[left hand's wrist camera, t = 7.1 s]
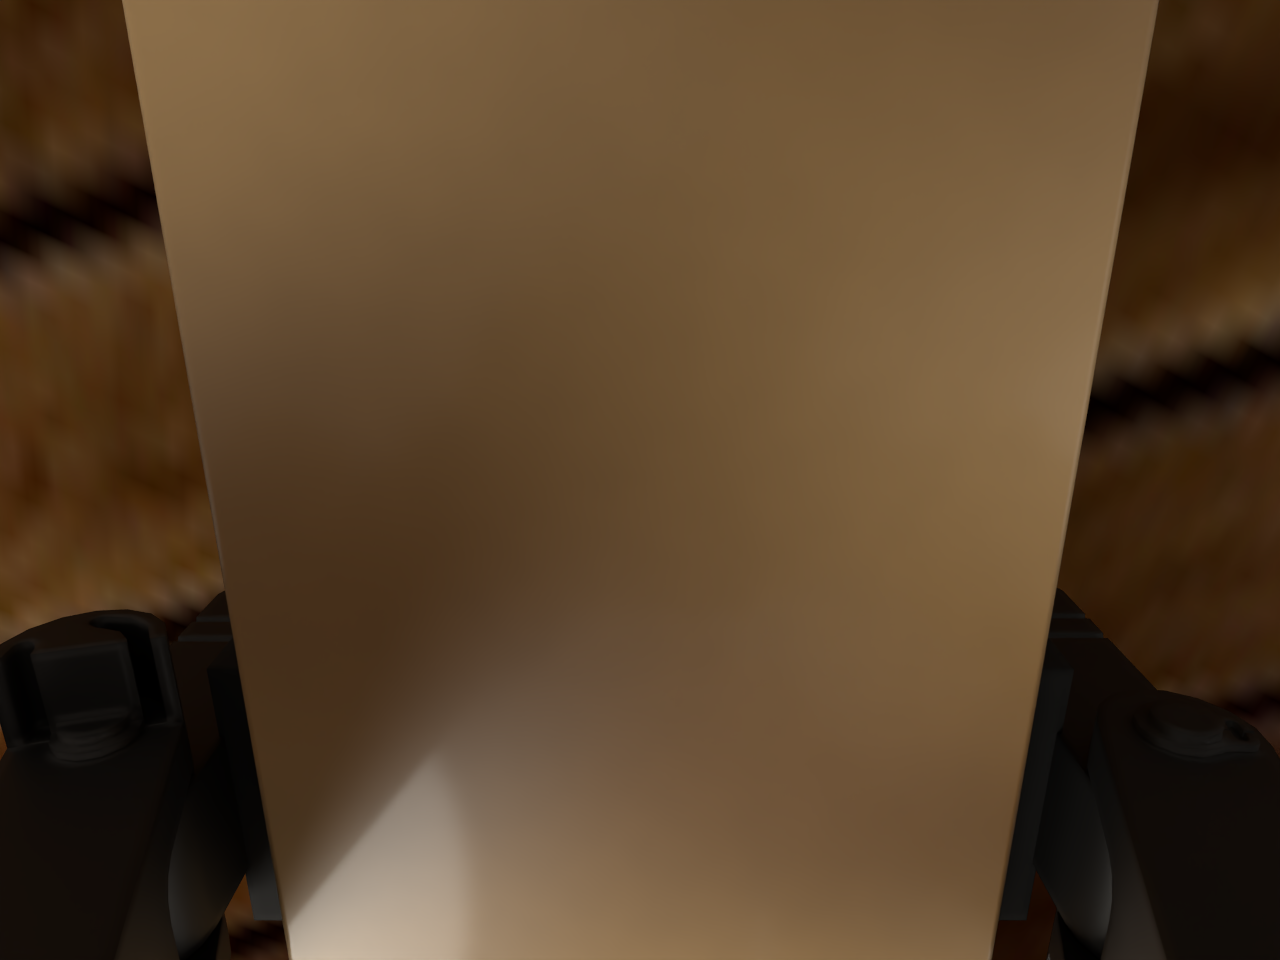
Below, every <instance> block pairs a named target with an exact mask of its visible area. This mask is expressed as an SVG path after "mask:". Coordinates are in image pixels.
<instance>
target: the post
mask: <svg viewBox="0 0 1280 960" xmlns="http://www.w3.org/2000/svg"><path fill="white" fill-rule="evenodd" d="M122 2H123V8H124V14H125V19H126V25H127V31H128V36H129V42H130V48H131V54H132V59H133V65H134V71H135V77H136V82H137V88H138V94H139V100H140V105H141V111H142V117H143V123H144V128H145V134H146V140H147V146H148V151H149V157H150V163H151V168H152V174H153V180H154V186H155V191H156V197H157V203H158V209H159V214H160V220H161V226H162V232H163V237H164V243H165V249H166V255H167V260H168V266H169V272H170V278H171V283H172V289H173V295H174V300H175V306H176V312H177V318H178V323H179V329H180V335H181V341H182V346H183V352H184V358H185V364H186V369H187V375H188V381H189V387H190V392H191V398H192V404H193V410H194V415H195V421H196V427H197V432H198V438H199V444H200V450H201V455H202V461H203V467H204V473H205V478H206V484H207V490H208V496H209V501H210V507H211V513H212V519H213V524H214V530H215V536H216V542H217V547H218V553H219V559H220V565H221V570H222V576H223V582H224V587H225V593H226V599H227V605H228V610H229V616H230V622H231V628H232V633H233V639H234V645H235V651H236V656H237V662H238V668H239V674H240V679H241V685H242V691H243V696H244V702H245V708H246V714H247V719H248V725H249V731H250V737H251V742H252V748H253V754H254V760H255V765H256V771H257V777H258V783H259V788H260V794H261V800H262V806H263V811H264V817H265V823H266V829H267V834H268V840H269V846H270V851H271V857H272V863H273V869H274V874H275V880H276V886H277V892H278V897H279V903H280V909H281V915H282V920H283V926H284V932H285V938H286V943H287V949H288V955H289V960H992V954H993V948H994V943H995V937H996V931H997V926H998V920H999V914H1000V908H1001V903H1002V897H1003V891H1004V885H1005V880H1006V874H1007V868H1008V863H1009V857H1010V851H1011V845H1012V840H1013V834H1014V828H1015V822H1016V817H1017V811H1018V805H1019V800H1020V794H1021V788H1022V782H1023V777H1024V771H1025V765H1026V759H1027V754H1028V748H1029V742H1030V737H1031V731H1032V725H1033V719H1034V714H1035V708H1036V702H1037V696H1038V691H1039V685H1040V679H1041V674H1042V668H1043V662H1044V656H1045V651H1046V645H1047V639H1048V633H1049V628H1050V622H1051V616H1052V611H1053V605H1054V599H1055V593H1056V588H1057V582H1058V576H1059V570H1060V565H1061V559H1062V553H1063V548H1064V542H1065V536H1066V530H1067V525H1068V519H1069V513H1070V507H1071V502H1072V496H1073V490H1074V485H1075V479H1076V473H1077V467H1078V462H1079V456H1080V450H1081V444H1082V439H1083V433H1084V427H1085V422H1086V416H1087V410H1088V404H1089V399H1090V393H1091V387H1092V381H1093V376H1094V370H1095V364H1096V359H1097V353H1098V347H1099V341H1100V336H1101V330H1102V324H1103V318H1104V313H1105V307H1106V301H1107V296H1108V290H1109V284H1110V278H1111V273H1112V267H1113V261H1114V255H1115V250H1116V244H1117V238H1118V232H1119V227H1120V221H1121V215H1122V210H1123V204H1124V198H1125V192H1126V187H1127V181H1128V175H1129V169H1130V164H1131V158H1132V152H1133V147H1134V141H1135V135H1136V129H1137V124H1138V118H1139V112H1140V106H1141V101H1142V95H1143V89H1144V84H1145V78H1146V72H1147V66H1148V61H1149V55H1150V49H1151V43H1152V38H1153V32H1154V26H1155V21H1156V15H1157V9H1158V3H1159V0H122Z"/></svg>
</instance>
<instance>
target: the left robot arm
mask: <svg viewBox="0 0 1280 960" xmlns="http://www.w3.org/2000/svg"><path fill="white" fill-rule="evenodd" d="M196 618H197V620H196V622H192V623H191V624H190V625H189V626H188V627H187V628H186V629H185V630H184V631H183V632H182V633H181V634H180V635H179V636H178V642H173V643H172V644H171V645H169V641H168V636H167V631H166V626H165V623H164V622H163V621H161V620H160V619H158V618H157V617H156V616H154V615H153V614H151V613H145V612H139V611H134V610H128V609H127V610H104V611H93V612H88V613H83V614H78V615H73V616H68V617H63V618H60V619H57V620H54V621H51V622H48V623H45V624H42V625H39V626H36V627H33V628H31V629H28V630H26V631H24V632H22V633H21V634H19V635H17V636H15V637H13V638H11V639H9V640H7V641H6V642H4V643H2V644H0V724H1V728H2V731H3V735H4V738H5V742H6V745H7V750H6V752H5V753H4V755H3V757H2V759H1V760H0V960H230V957H231V949H230V941H229V934H228V929H227V924H226V919H225V914H224V912H225V910H226V908H227V906H228V904H229V902H230V901H231V899H232V897H233V895H234V893H235V891H236V890H237V888H238V886H239V884H240V882H241V880H242V879H243V877H244V875H245V873H246V879H247V884H248V889H249V894H250V900H251V905H252V910H253V915H254V920H282V915H281V909H280V903H279V897H278V892H277V886H276V880H275V874H274V869H273V863H272V857H271V851H270V846H269V840H268V834H267V829H266V823H265V817H264V811H263V806H262V800H261V794H260V788H259V783H258V777H257V771H256V765H255V760H254V754H253V748H252V742H251V737H250V731H249V725H248V719H247V714H246V708H245V702H244V696H243V691H242V685H241V679H240V674H239V668H238V662H237V656H236V651H235V645H234V639H233V633H232V628H231V622H230V616H229V610H228V605H227V599H226V593H225V591H223V592H221V593H220V594H218V595H217V596H216V597H215V598H214V599H213V600H212V601H211V602H210V603H209V605H208V606H207V607H206V608H205V609H204V610H203V611H202V612H201V613H200V614H199V615H198V616H197V617H196ZM1036 871H1037V873H1038V874H1039V876H1040V878H1041V880H1042V882H1043V883H1044V885H1045V887H1046V889H1047V891H1048V893H1049V894H1050V896H1051V898H1052V900H1053V902H1054V904H1055V905H1056V907H1057V909H1056V914H1055V919H1054V924H1053V929H1052V934H1051V938H1050V943H1049V948H1048V953H1047V958H1046V960H1280V759H1279V757H1278V755H1277V753H1276V752H1275V750H1274V748H1273V747H1272V746H1271V744H1270V743H1269V742H1268V741H1267V740H1266V739H1265V738H1264V737H1263V736H1262V734H1261V733H1260V732H1259V731H1258V730H1257V729H1256V728H1255V727H1253V726H1252V725H1250V724H1248V723H1247V722H1245V721H1244V720H1242V719H1241V718H1239V717H1237V716H1236V715H1234V714H1233V713H1231V712H1230V711H1227V710H1225V709H1222V708H1220V707H1218V706H1215V705H1213V704H1210V703H1208V702H1205V701H1203V700H1200V699H1198V698H1194V697H1190V696H1185V695H1181V694H1177V693H1172V692H1168V691H1161V690H1157V689H1156V688H1155V687H1154V686H1153V685H1152V684H1151V683H1150V682H1149V681H1148V680H1147V679H1146V678H1145V677H1144V676H1143V675H1142V674H1141V673H1140V672H1139V671H1138V669H1137V668H1136V667H1135V666H1134V665H1133V664H1132V663H1131V662H1130V661H1129V660H1128V659H1127V658H1126V657H1125V656H1124V655H1123V654H1122V653H1121V652H1120V651H1119V649H1118V648H1117V647H1116V646H1115V645H1114V644H1113V643H1112V642H1111V641H1110V640H1109V639H1108V638H1103V633H1102V632H1101V631H1100V629H1099V628H1098V627H1097V626H1096V625H1095V624H1094V623H1093V622H1092V621H1091V620H1090V619H1085V614H1084V613H1083V612H1082V610H1081V609H1080V608H1079V607H1078V606H1077V605H1076V604H1075V603H1074V602H1073V601H1072V600H1071V599H1070V598H1069V597H1068V596H1067V595H1066V594H1065V593H1064V592H1063V591H1062V590H1060V589H1058V588H1056V593H1055V599H1054V605H1053V611H1052V616H1051V622H1050V628H1049V633H1048V639H1047V645H1046V651H1045V656H1044V662H1043V668H1042V674H1041V679H1040V685H1039V691H1038V696H1037V702H1036V708H1035V714H1034V719H1033V725H1032V731H1031V737H1030V742H1029V748H1028V754H1027V759H1026V765H1025V771H1024V777H1023V782H1022V788H1021V794H1020V800H1019V805H1018V811H1017V817H1016V822H1015V828H1014V834H1013V840H1012V845H1011V851H1010V857H1009V863H1008V868H1007V874H1006V880H1005V885H1004V891H1003V897H1002V903H1001V908H1000V914H999V920H1026V919H1027V914H1028V908H1029V903H1030V898H1031V893H1032V887H1033V882H1034V877H1035V872H1036Z"/></svg>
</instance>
